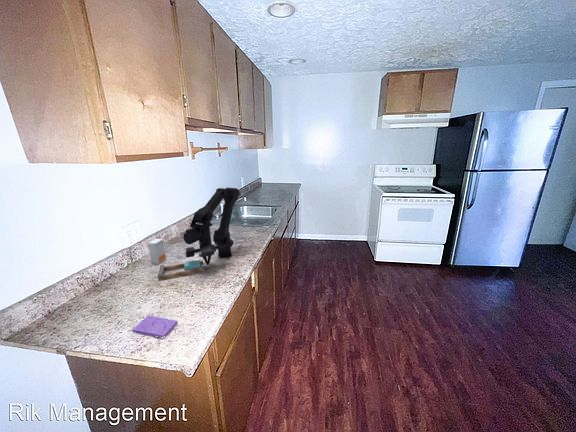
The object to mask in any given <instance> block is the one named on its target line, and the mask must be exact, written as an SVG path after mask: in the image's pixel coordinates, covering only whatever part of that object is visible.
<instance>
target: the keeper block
mask: <svg viewBox="0 0 576 432" xmlns="http://www.w3.org/2000/svg"><path fill="white" fill-rule="evenodd" d="M200 261H201V259H194V260H187V261H185V262H184V263H185V265H184V268H183V269H184V271H187V270H193V269H198V268H202V265H201V262H200Z"/></svg>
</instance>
